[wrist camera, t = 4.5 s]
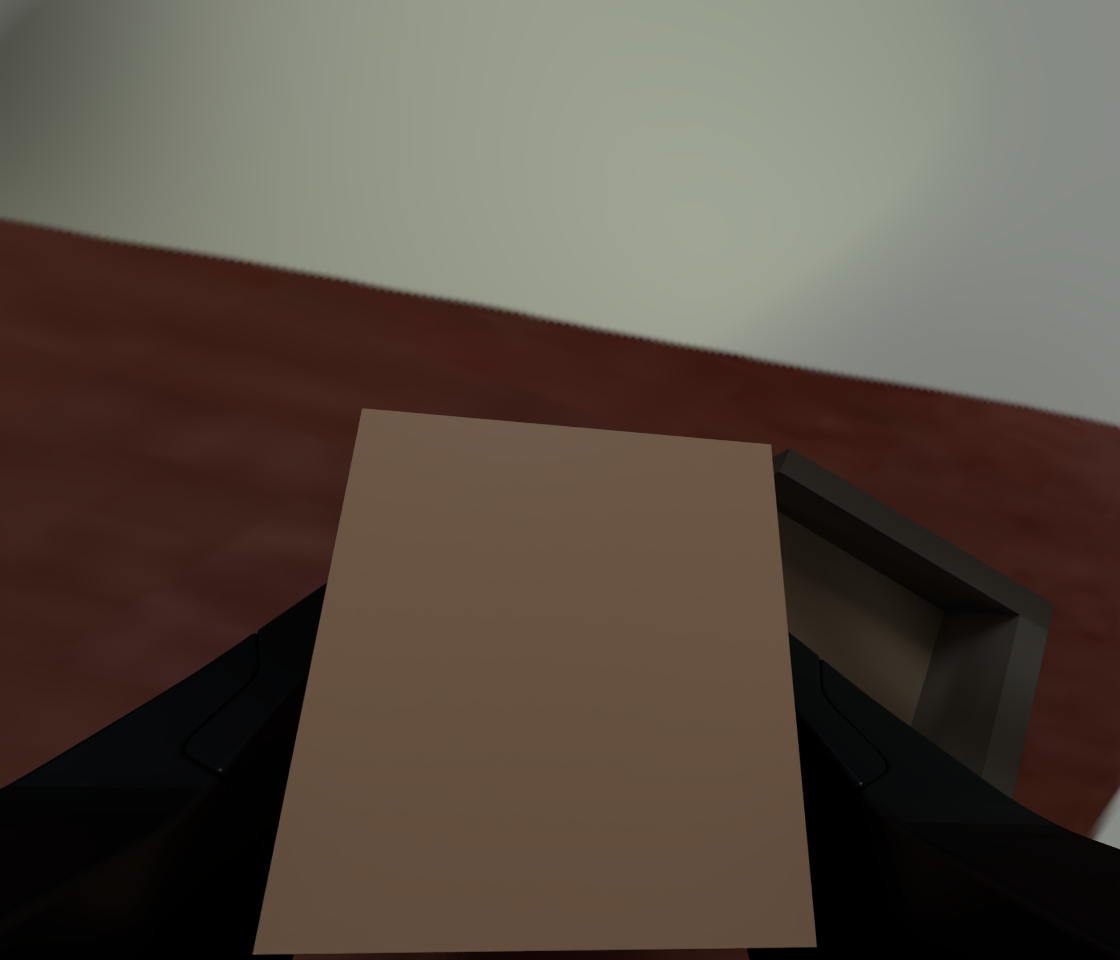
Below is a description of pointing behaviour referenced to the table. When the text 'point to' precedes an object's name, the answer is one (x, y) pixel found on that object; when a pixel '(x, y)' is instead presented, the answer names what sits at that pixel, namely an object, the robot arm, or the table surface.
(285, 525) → the table surface
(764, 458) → the tan block
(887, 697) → the grey shallow square piece
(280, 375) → the table surface
